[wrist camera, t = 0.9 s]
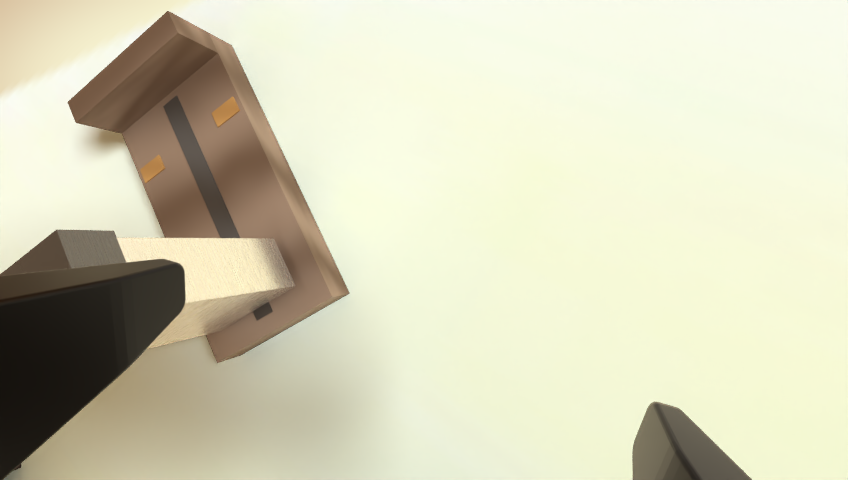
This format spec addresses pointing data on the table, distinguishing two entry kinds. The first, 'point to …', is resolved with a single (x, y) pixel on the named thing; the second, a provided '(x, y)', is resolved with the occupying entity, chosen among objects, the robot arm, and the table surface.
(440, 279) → the table surface
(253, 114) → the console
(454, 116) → the table surface
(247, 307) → the fader tab
